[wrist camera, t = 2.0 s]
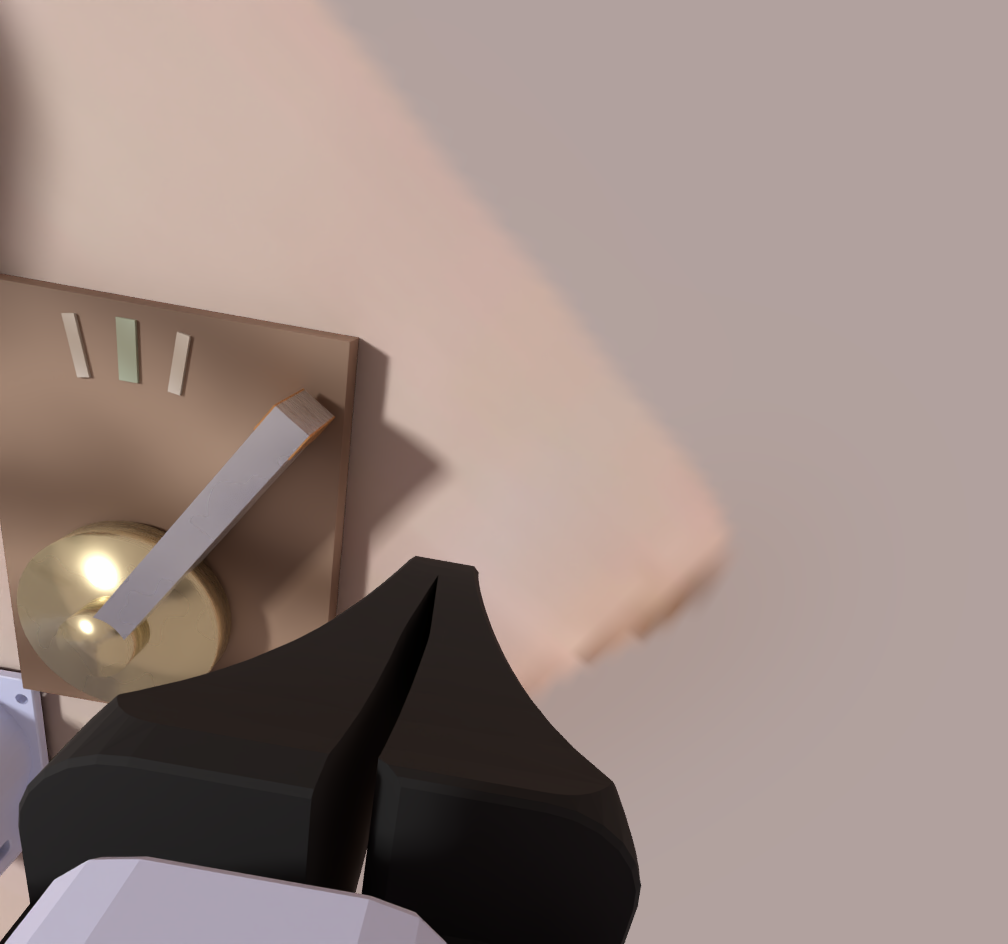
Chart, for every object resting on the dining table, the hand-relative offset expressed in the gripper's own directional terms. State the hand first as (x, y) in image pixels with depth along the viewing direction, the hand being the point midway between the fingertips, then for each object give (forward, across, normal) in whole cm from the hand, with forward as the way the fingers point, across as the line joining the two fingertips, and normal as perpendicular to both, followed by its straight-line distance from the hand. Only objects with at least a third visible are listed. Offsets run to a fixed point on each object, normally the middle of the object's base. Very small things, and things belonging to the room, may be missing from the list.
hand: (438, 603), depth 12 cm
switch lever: (+8, +9, +4) cm, 13 cm away
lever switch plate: (+9, +10, +4) cm, 14 cm away
